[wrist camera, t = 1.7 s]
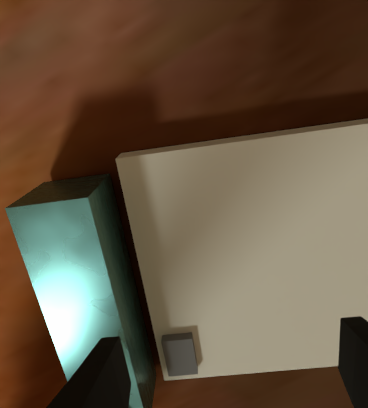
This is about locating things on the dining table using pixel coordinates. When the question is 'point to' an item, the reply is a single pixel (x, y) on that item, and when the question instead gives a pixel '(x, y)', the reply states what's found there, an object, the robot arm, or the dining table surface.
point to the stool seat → (251, 247)
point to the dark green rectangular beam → (84, 274)
